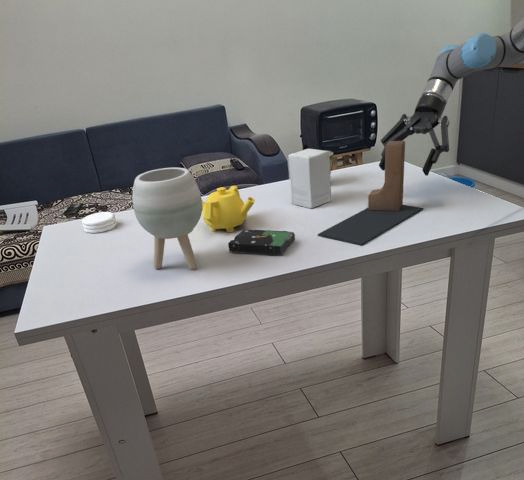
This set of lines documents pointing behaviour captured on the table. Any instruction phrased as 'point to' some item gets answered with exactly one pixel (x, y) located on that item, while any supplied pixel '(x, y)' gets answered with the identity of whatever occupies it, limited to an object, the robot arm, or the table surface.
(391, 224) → the mat
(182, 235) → the planter
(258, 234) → the disk drive
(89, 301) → the table surface
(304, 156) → the white product box
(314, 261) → the table surface
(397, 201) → the wooden block
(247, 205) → the teapot
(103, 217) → the coaster
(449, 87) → the robot arm
